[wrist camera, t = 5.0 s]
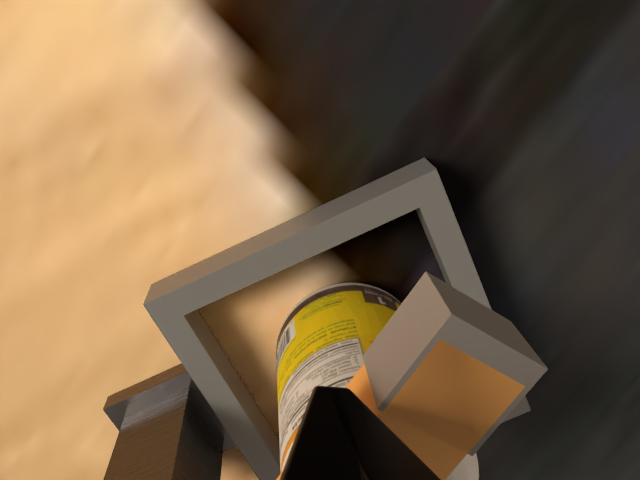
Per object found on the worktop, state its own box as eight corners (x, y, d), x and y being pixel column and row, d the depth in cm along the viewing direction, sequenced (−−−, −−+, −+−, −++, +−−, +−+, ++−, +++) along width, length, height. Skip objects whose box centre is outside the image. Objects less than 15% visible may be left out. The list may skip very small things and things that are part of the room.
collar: (515, 386, 25) (531, 410, 24) (281, 486, 26) (282, 515, 25) (424, 157, 21) (436, 168, 20) (151, 284, 22) (143, 304, 21)
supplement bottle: (435, 361, 25) (543, 587, 15) (314, 417, 25) (345, 669, 16) (380, 250, 22) (466, 432, 13) (250, 314, 23) (241, 532, 14)
